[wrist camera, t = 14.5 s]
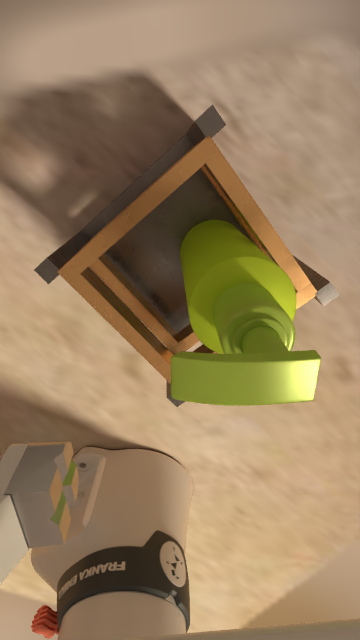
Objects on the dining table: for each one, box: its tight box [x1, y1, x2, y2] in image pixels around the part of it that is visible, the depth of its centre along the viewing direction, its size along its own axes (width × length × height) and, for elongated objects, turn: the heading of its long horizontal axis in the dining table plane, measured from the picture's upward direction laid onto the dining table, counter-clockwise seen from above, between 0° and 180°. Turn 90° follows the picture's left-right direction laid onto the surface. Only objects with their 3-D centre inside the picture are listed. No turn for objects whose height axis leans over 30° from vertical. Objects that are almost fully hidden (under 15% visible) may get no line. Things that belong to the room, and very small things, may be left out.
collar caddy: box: [34, 105, 339, 407], centre depth 27 cm, size 14×14×10 cm
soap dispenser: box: [171, 220, 321, 406], centre depth 22 cm, size 6×7×20 cm
